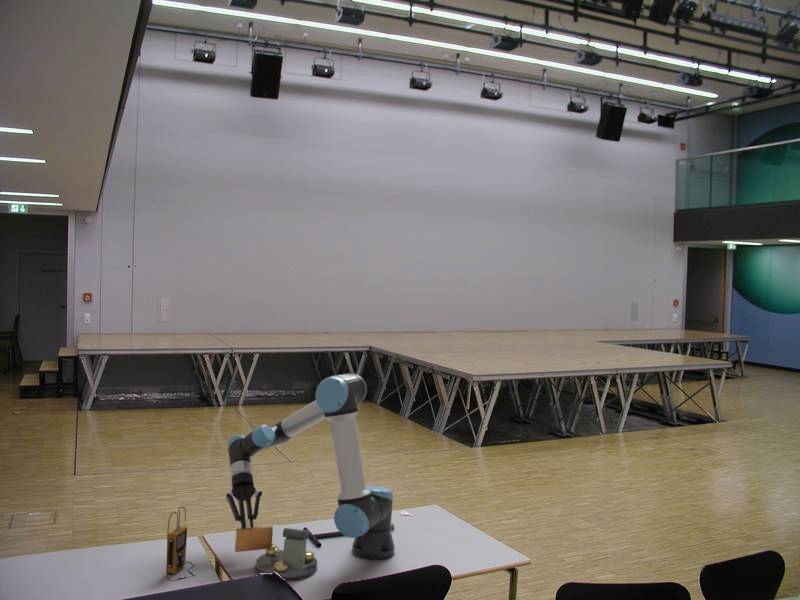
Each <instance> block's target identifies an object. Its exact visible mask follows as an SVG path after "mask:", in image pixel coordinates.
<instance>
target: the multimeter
mask: <svg viewBox="0 0 800 600" xmlns="http://www.w3.org/2000/svg"><path fill="white" fill-rule="evenodd" d="M181 508H182V509H183V510H184V513H185V514H184V520H186V517H187V510H186V507H184V506H180V507H178V510H181ZM173 514H176V517H177V518H176V526H175V529H174V530H172V531H171V532H167V535H166V539H167V540H166V543H167V544H166V576H167V578H169V575H168V573H171V574H170V575H176V574H177V573H178V572H179V571H180V570H182V569H183V568H182V567H183V566H184V565H185V566H186V561H185V560H186V557H187V556H186V555H187V541H188V540H187V538H188V537H187V535H188V528H187V527H186V526H181V525H180V524H181V523H180V522H181V521H180V518H181V517H180V516H181V514H180V511H178V513H177V512H176V511H172V512H171V513H170V514H169V519H168V523H167V531H169V529H170V528H169V527H170V522H171V521H170V519H171V517H172V515H173ZM181 568H182V569H181ZM179 569H180V570H179ZM178 570H179V571H178ZM177 571H178V572H177ZM175 573H176V574H175Z"/></svg>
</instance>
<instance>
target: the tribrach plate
mask: <svg viewBox="0 0 800 600" xmlns="http://www.w3.org/2000/svg"><path fill="white" fill-rule="evenodd" d="M283 556H284V549H279V555H278V556H276V557H268V556H266V553H263V554H262V555H260V556H259V557H258V558H257V559H256V561H255V571H256V570H257V571H256V572H257V573H258V572H259V573H273V572H274V571H275V572H277V573H278V574H279V575H280V576H281V577H282V578H283V579H285V580H286V581H289V582H290V581H297V580H298V581H299V580H304V579H307V578H309V577H311V576H313V575H314V574H315V573H316V572H317V569H318V560H317V558H316V557H315V552H313V551H310V550H306V560H305V564H304V565H303V567H302V569H301V570H300V569H290V568H288V563H287V562H283ZM259 573H258V574H259ZM286 581H285V582H286Z"/></svg>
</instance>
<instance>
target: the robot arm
mask: <svg viewBox="0 0 800 600" xmlns="http://www.w3.org/2000/svg"><path fill="white" fill-rule="evenodd" d="M367 392H368V388H367V383H366V381H365V379H364V378H363V377H362V376H361V375H360V374H357V373H352V372H348V373H343V374H337V375H331V376H329V377H326V378H324V379H323V380H322V381H321V382H320V383H319V384H318V385H317V388H316V389H315V400H313V401H312V402H310V403H308V404H307V405H305V406H303V407H302V408H300V409H298V410H297V411H295V412H294V413H292V414H290V415H288V416H286V417H284V418H283V419H282V420H280V421H279V422H276V423H275V424H272V425H267V424H262V425H260V426H258V427H256V428H254V429H253V430H252V431H251V432H250V433H248V434H247V435H243V434H237V435H236V436H232V437H230V438H229V440H228V441H227V445H228V446H227V448H228V449H227V451H228V460H229V467H230V477H231V491H230V492H229V493H226V495H225V500H226V502H228V503H229V504H228V505H229V507H230V510H231V513H232V515H233V518H234V520H235V522H240V525H241V529H243V528H254V527H255V526H254V520H257V519H258V515H259V508H260V500H261V497H262V494H263V491H261V490H260V491H258V490H257V489H256V487H255V485H254V477H253V468H252V461H251V458H252V457H254V456H255V455H256V454H258V453H260V452H261V451H263V450H265V449H269V448H272V447H274V446H277V445H280V444H285V443H287V442H289V441H291V439H292V438H294V437H295V436H297V435H298V434H300V433H301V432H303V431H305V430H307V429H309V428H311V427H312V426H314V425H316V424H318V423H319V422H321V421H323V420H324V419H326V420H327V421H328V422H329V424H330V431H331V436H332V437H331V438H332V443H333V450H334V456H335V457H334V458H335V462H336V469H337V475H338V480H339V481H338V482H339V488H340V493H339V494H338V495H337V498H336V499H337V508H336V509H335V512H334V514H333V516H334V517H333V522H334V526H335V527H336V529H337V530H338V532H339V533H341V534H342V535H343V536H344V537H347V538H352V539H353V541H352V546H351V547H352V549H351V550H352V551H351V552H352V554H353V555H355V556H357V557H359V558H362V559H364V560H365V559H366V560H385V559H388V558H390V557H392V556H394V554H395V541H394V539H393V535H392V529H391V528H392V519H393V517H392V516H393V515H392V514H393V501H394V499H393V497H394V496H393V495H394V494H393V491H392V490H391V489H390V488H388V487H384V486H379V485H366V480H365V475H364V470H363V463H362V456H361V449H360V448H361V447H360V443H359V436H358V429H357V424H356V416H357V415H358V413H359V408H358V404H360V403H362V402H363V401H364V400H365V398H366V396H367ZM253 496H254V497H255V501H254V508H252V498H253ZM234 498H235V499H236V500H237V503H238V504H237V505H238V507H237V505H236V503H235V500H234ZM244 502H245V503H244ZM245 505H246V510H245ZM238 508H239V509H238ZM245 511H246V512H245ZM246 514H247V518H246Z"/></svg>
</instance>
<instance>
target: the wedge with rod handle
mask: <svg viewBox="0 0 800 600" xmlns="http://www.w3.org/2000/svg"><path fill="white" fill-rule="evenodd" d="M309 535H310V531H309V530H308V529H307V530H306V529H297V528H289V527H288V528H287V527H286V528H285V527H284V528H283V531H282V537H283V538H285V539H284V541H283V550H284V556H283V562H287V563H288V568H290V569H300V570H301V569H302V567H303V565H304V564H305V560H306V551H307V542H308V539H309Z"/></svg>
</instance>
